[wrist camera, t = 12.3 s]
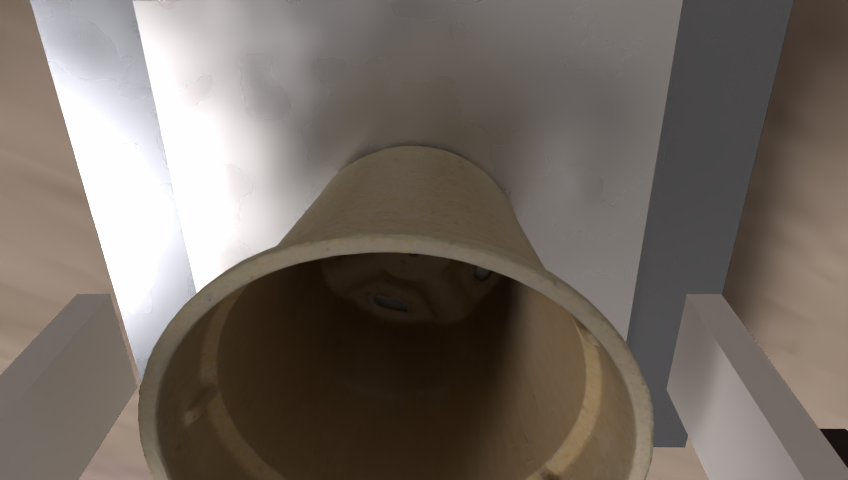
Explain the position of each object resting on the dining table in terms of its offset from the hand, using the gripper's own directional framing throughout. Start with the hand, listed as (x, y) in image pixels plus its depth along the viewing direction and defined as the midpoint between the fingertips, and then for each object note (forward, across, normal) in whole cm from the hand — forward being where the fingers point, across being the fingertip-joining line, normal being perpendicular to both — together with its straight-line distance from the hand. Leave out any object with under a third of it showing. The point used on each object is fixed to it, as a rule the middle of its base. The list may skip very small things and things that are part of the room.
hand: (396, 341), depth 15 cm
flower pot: (+5, 0, 0) cm, 5 cm away
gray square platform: (+10, 0, 0) cm, 10 cm away
